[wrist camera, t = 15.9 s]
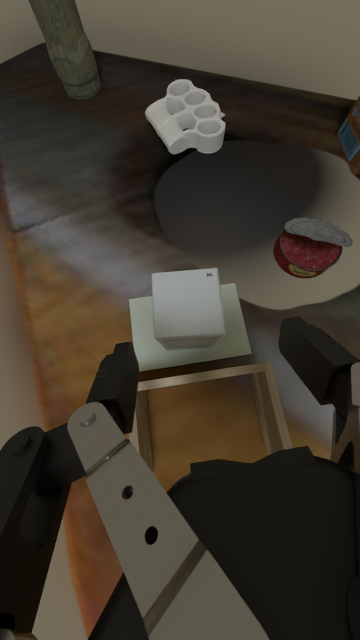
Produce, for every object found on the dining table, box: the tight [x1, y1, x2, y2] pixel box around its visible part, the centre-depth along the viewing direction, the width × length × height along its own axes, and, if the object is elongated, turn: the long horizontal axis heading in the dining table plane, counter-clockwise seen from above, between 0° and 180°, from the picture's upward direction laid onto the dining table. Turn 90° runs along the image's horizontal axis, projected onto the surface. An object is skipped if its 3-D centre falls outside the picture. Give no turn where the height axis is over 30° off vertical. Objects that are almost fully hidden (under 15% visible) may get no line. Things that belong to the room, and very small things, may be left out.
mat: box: [129, 283, 252, 372], centre depth 34 cm, size 18×12×1 cm, turn 99°
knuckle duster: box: [145, 79, 225, 154], centre depth 44 cm, size 3×18×15 cm
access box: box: [129, 362, 293, 473], centre depth 27 cm, size 18×12×7 cm, turn 99°
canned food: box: [273, 218, 352, 278], centre depth 34 cm, size 11×10×10 cm
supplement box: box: [152, 268, 226, 350], centre depth 27 cm, size 7×7×13 cm
